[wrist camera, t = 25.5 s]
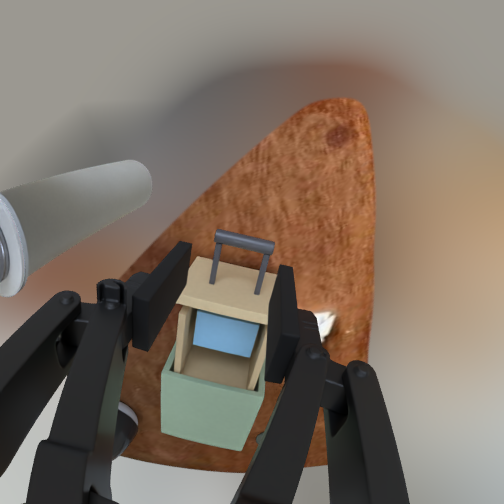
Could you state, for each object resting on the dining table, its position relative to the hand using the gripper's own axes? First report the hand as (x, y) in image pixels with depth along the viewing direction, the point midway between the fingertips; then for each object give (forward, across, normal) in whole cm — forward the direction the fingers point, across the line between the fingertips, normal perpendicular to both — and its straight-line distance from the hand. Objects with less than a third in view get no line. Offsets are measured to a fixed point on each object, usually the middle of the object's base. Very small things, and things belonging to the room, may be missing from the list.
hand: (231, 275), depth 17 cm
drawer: (+19, 0, -12) cm, 22 cm away
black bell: (+20, -19, -50) cm, 57 cm away
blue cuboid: (+18, 0, -14) cm, 22 cm away
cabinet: (+20, 0, -26) cm, 33 cm away
